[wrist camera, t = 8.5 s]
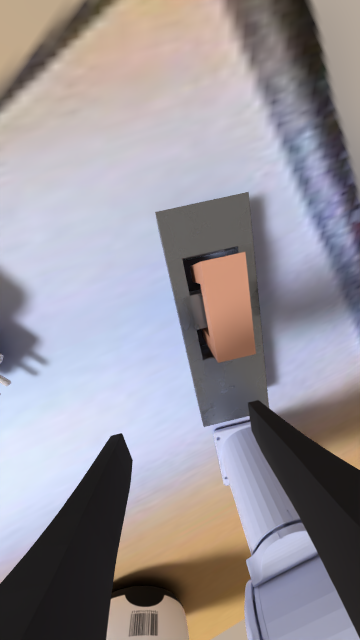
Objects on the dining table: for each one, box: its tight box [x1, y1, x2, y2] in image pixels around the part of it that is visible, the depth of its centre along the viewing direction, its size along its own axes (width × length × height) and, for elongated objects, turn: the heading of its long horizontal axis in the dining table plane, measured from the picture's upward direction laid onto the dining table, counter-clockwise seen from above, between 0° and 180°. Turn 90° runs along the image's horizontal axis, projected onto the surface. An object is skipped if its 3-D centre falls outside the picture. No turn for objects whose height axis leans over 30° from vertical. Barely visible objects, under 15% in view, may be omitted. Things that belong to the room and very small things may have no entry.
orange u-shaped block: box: [190, 252, 256, 363], centre depth 15 cm, size 8×3×6 cm, turn 12°
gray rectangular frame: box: [155, 192, 269, 427], centre depth 16 cm, size 20×7×3 cm, turn 12°
